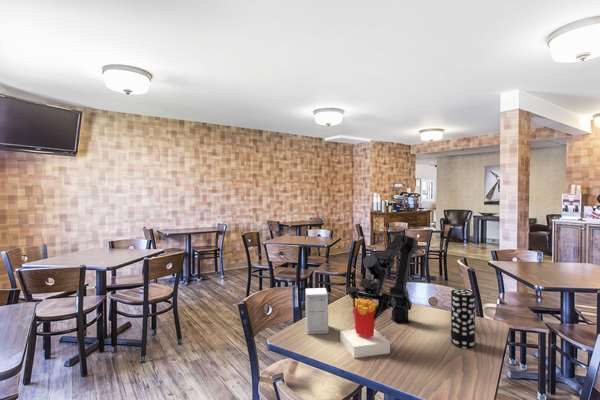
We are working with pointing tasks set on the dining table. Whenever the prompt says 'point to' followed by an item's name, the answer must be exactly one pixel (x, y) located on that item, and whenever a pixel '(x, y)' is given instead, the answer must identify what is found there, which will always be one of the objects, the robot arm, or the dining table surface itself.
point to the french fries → (364, 317)
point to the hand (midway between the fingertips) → (363, 316)
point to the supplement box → (316, 311)
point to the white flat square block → (364, 343)
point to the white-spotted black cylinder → (463, 318)
